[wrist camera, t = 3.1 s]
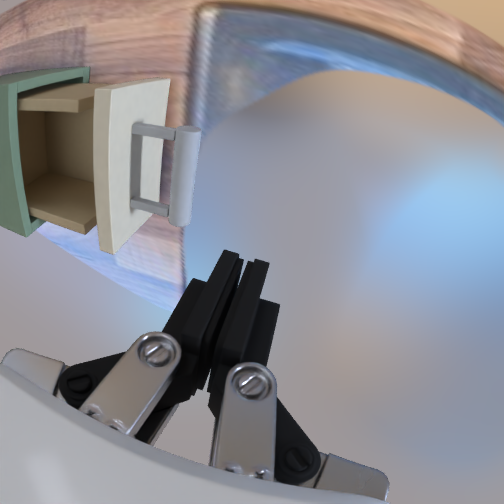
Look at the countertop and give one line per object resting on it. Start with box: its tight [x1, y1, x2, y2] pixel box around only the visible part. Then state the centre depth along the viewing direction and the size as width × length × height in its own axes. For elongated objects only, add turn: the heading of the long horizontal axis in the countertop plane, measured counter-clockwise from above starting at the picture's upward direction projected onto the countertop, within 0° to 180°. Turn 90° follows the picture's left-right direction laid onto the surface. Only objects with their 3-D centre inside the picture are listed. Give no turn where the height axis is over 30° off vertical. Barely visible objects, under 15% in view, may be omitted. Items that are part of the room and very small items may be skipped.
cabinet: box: [0, 67, 90, 237], centre depth 19 cm, size 14×12×9 cm
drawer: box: [17, 77, 202, 255], centre depth 18 cm, size 17×10×7 cm, turn 78°
